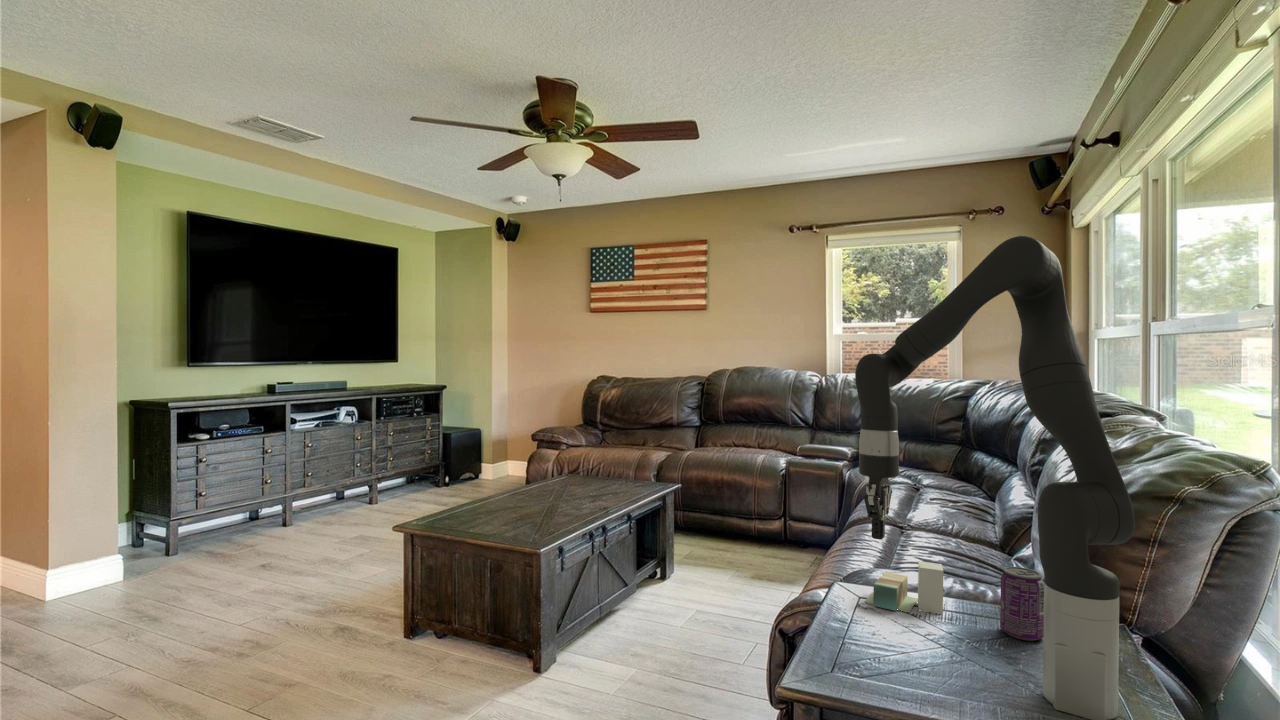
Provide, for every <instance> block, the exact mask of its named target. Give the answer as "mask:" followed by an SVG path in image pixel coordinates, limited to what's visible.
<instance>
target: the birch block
mask: <svg viewBox="0 0 1280 720" xmlns="http://www.w3.org/2000/svg"><path fill="white" fill-rule="evenodd" d="M873 592H874V595H873V607H877V608H882V609H886V610H891V611H895V612H896V611H897V609H898V608H899V607H900V605H901V604H902V603H903V601H904V600H905V599H906V598H907V596H908V575H904V574H898V573H894V572H888V571H886V572H885V573H883V574H882V575H881V576H880V577H879V578H878V579H877V580H876V581H875V582H874V583H873Z"/></svg>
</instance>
